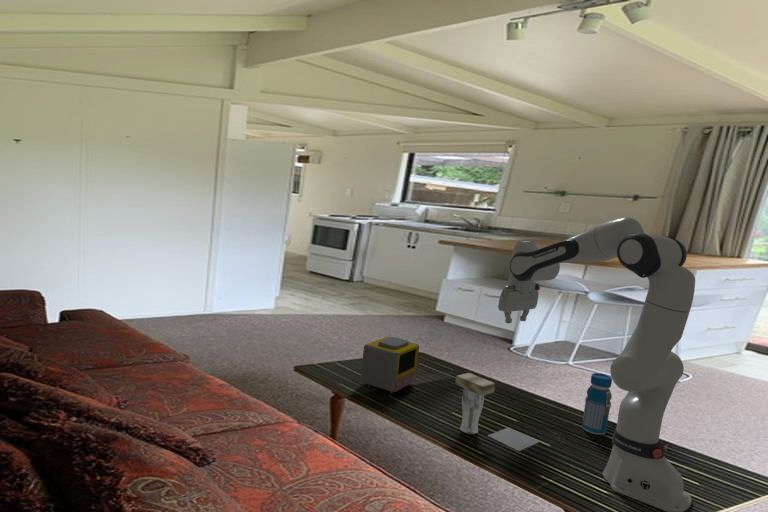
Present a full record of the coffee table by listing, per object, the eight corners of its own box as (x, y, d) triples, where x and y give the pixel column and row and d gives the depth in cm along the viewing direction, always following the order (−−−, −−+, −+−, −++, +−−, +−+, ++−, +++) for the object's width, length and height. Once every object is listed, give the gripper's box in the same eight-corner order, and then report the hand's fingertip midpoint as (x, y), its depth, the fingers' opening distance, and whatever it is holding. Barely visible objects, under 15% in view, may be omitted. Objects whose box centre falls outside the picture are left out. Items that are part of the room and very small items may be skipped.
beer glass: (479, 437, 166) (485, 393, 165) (457, 433, 168) (463, 389, 166) (479, 429, 173) (485, 386, 172) (458, 425, 174) (464, 382, 173)
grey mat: (539, 443, 167) (539, 441, 167) (518, 452, 159) (519, 451, 159) (508, 429, 176) (508, 427, 175) (487, 437, 167) (487, 435, 167)
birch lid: (494, 392, 167) (495, 383, 167) (482, 395, 163) (483, 386, 162) (467, 381, 175) (468, 372, 175) (455, 384, 171) (456, 375, 170)
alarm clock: (393, 398, 193) (398, 350, 191) (358, 386, 201) (363, 341, 199) (417, 384, 210) (422, 341, 208) (384, 374, 218) (388, 332, 216)
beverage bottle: (586, 434, 178) (594, 378, 176) (577, 423, 186) (585, 370, 184) (610, 436, 178) (619, 381, 176) (600, 426, 186) (608, 373, 184)
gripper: (511, 287, 177) (506, 326, 178) (543, 285, 190) (537, 321, 192) (496, 284, 181) (491, 322, 183) (528, 282, 195) (523, 317, 196)
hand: (515, 321), depth 187 cm, fingers open, 8 cm apart
